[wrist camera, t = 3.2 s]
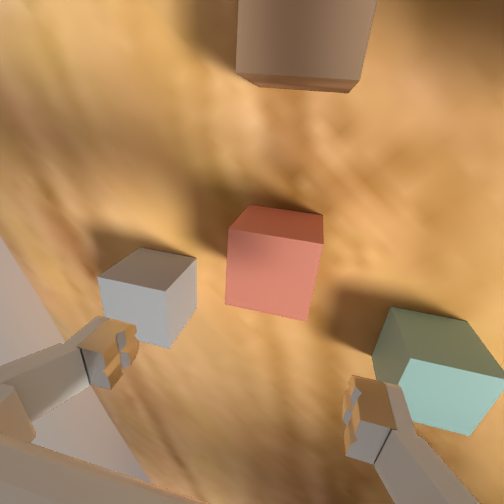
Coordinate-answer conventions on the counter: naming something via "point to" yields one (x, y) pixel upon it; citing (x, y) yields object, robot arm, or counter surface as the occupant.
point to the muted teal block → (438, 369)
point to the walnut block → (303, 43)
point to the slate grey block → (151, 294)
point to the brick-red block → (273, 261)
